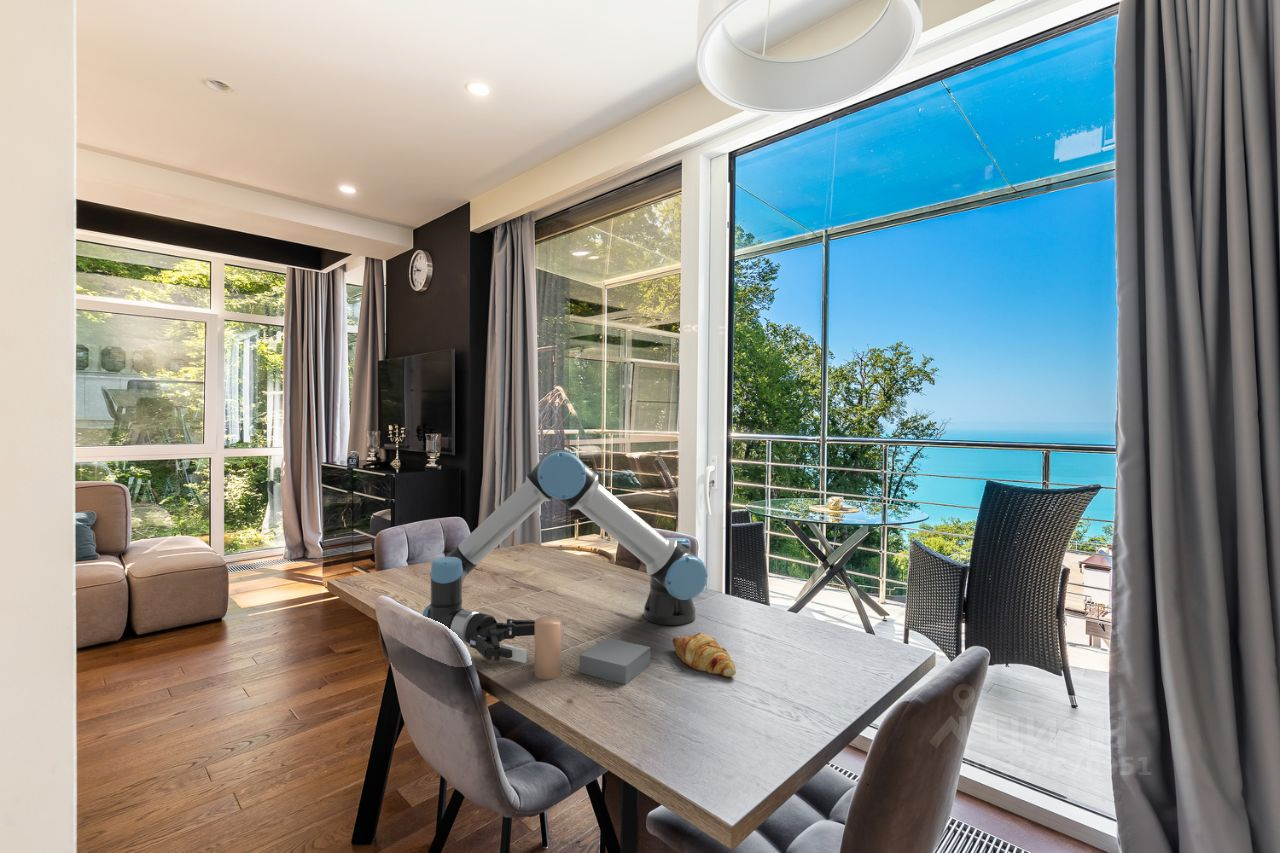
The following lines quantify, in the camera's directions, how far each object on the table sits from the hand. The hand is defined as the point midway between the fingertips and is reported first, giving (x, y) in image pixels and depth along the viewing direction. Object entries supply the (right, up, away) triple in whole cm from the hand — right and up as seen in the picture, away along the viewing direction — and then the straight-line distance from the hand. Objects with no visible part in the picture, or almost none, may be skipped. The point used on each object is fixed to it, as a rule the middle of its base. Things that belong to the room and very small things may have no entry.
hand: (545, 645), depth 131 cm
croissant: (+36, -7, +7) cm, 38 cm away
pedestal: (+16, -7, +3) cm, 17 cm away
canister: (+1, -6, 0) cm, 6 cm away
